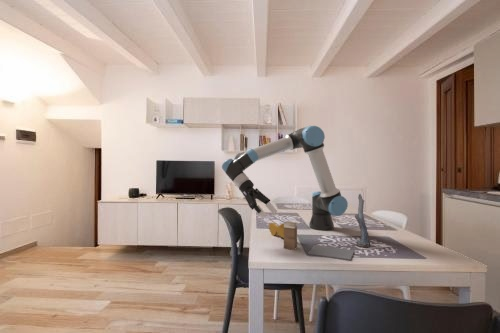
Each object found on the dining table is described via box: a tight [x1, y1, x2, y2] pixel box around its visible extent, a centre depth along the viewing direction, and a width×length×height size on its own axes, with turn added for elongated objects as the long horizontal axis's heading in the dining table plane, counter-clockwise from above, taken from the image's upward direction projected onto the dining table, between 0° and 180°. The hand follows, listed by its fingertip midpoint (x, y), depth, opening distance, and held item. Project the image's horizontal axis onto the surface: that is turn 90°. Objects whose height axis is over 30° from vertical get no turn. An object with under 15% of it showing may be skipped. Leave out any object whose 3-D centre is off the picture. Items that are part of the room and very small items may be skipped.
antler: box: [354, 193, 372, 248], centre depth 140 cm, size 12×8×25 cm
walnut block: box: [283, 220, 298, 251], centre depth 133 cm, size 5×5×12 cm
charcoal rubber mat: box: [307, 244, 355, 261], centre depth 126 cm, size 14×18×1 cm
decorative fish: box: [268, 222, 285, 239], centre depth 150 cm, size 22×3×10 cm, turn 27°
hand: (270, 215), depth 138 cm, fingers open, 13 cm apart
